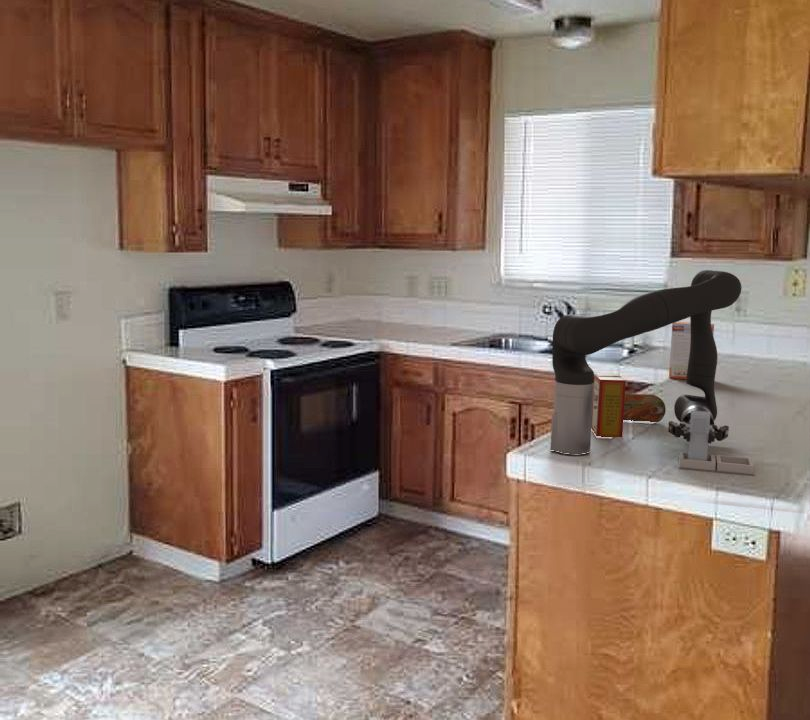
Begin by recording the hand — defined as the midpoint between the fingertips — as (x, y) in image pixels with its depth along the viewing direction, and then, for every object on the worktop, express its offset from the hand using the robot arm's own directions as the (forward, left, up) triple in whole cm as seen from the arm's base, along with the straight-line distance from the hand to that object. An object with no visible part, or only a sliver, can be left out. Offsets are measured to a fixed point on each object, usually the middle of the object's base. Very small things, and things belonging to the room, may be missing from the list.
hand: (699, 438), depth 195 cm
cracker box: (+1, +133, -8) cm, 134 cm away
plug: (0, +3, -7) cm, 7 cm away
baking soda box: (-22, +30, -8) cm, 38 cm away
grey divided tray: (+4, +3, -8) cm, 9 cm away
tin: (-15, +49, -8) cm, 52 cm away
